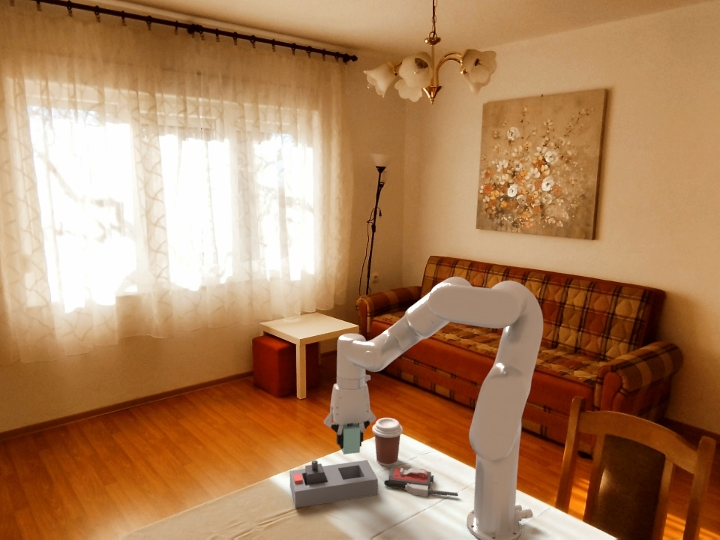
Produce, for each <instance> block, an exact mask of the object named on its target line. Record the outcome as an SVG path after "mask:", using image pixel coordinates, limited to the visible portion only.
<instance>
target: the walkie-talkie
mask: <svg viewBox="0 0 720 540" xmlns="http://www.w3.org/2000/svg"><path fill="white" fill-rule="evenodd" d="M434 478H435V477H434V475H432V471H427V469H424V468H416V467H411V468H403V467H390V471H389V473H388V480H387V479H385V480H383V484H384V485H385V486H387V487H389V488H393V489H402V490H405V491H407V492H409V493H410V494H412V495H414V496H415V495H416V496H421V497H422V496H424V497H428V495H437V496H438V495H439V496H446V497H447V496H453V497H458V496H459V493H458V492H453V491H447V490H446V491H444V490H436V489H433V488H432V487H431V486H433V484H434V480H435V479H434Z"/></svg>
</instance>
